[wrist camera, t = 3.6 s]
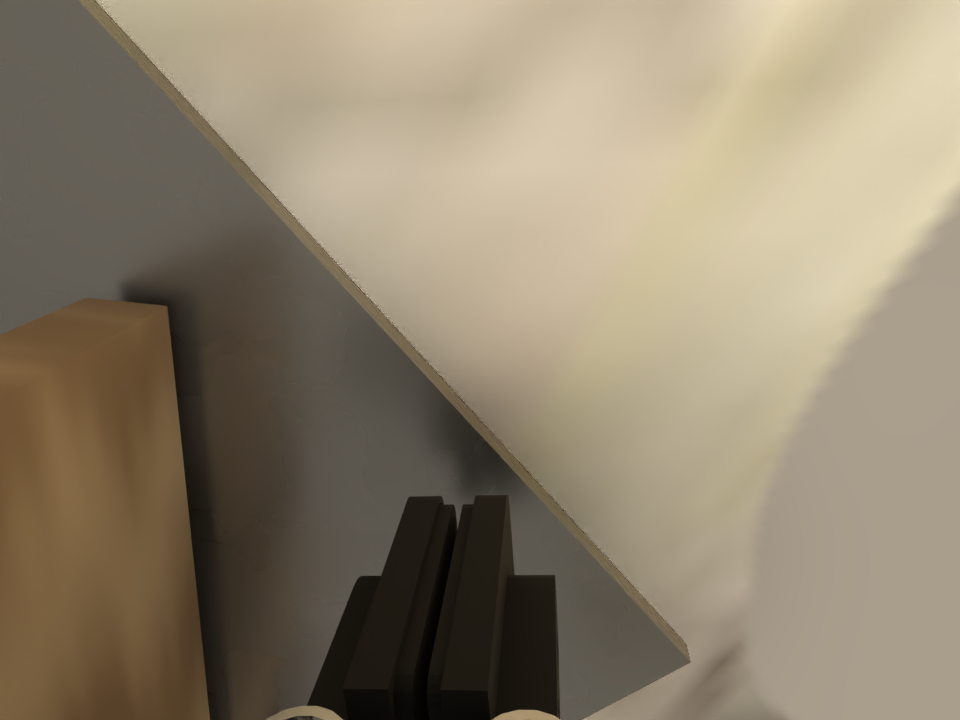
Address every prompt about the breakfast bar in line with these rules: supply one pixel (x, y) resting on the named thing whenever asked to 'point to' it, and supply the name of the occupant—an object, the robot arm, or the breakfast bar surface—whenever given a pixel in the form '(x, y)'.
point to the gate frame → (266, 375)
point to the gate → (95, 522)
